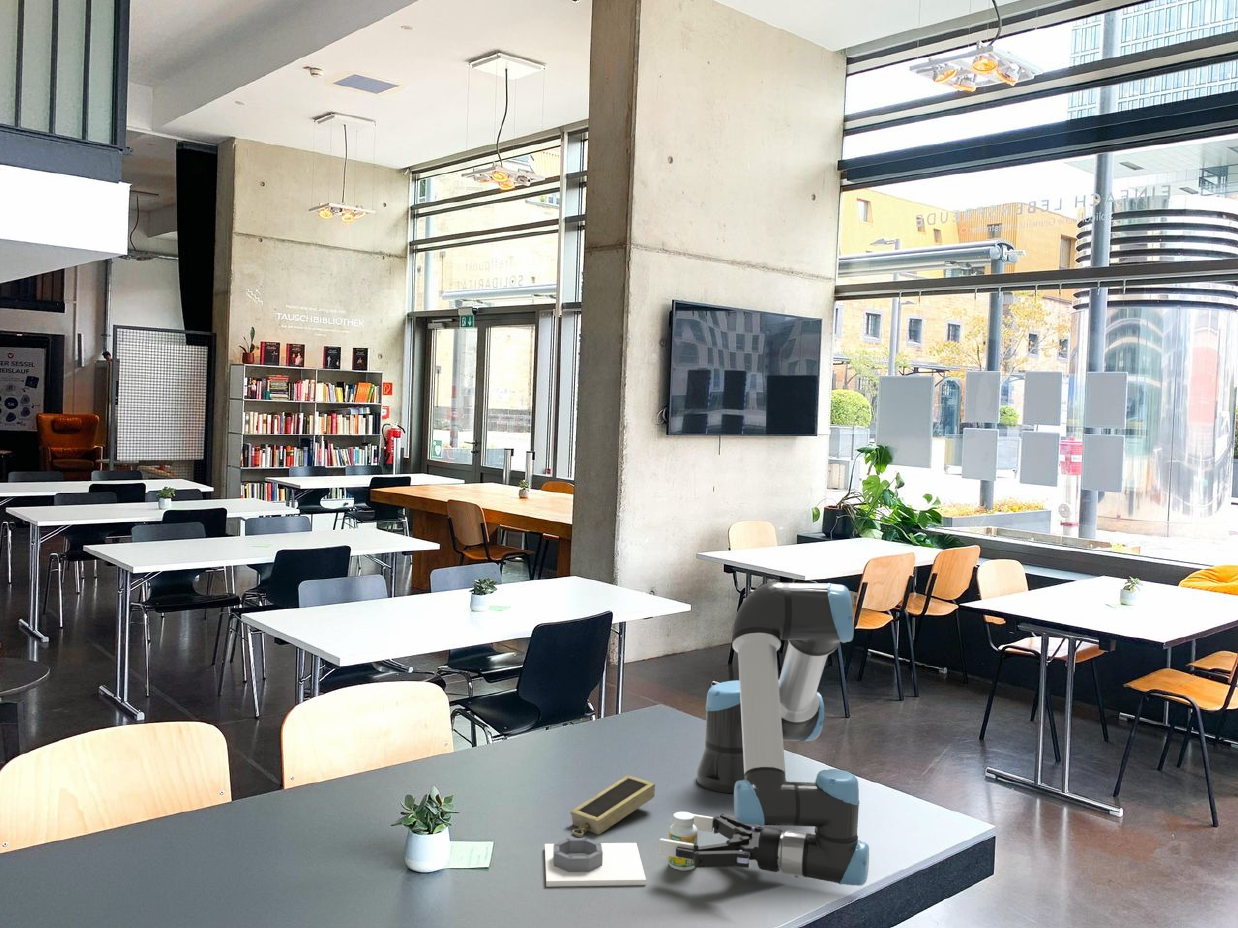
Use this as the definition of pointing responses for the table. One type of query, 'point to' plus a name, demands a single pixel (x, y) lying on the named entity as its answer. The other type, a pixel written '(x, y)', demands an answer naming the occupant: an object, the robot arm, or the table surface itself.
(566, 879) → the plate
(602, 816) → the box
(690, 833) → the supplement bottle
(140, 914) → the table surface
